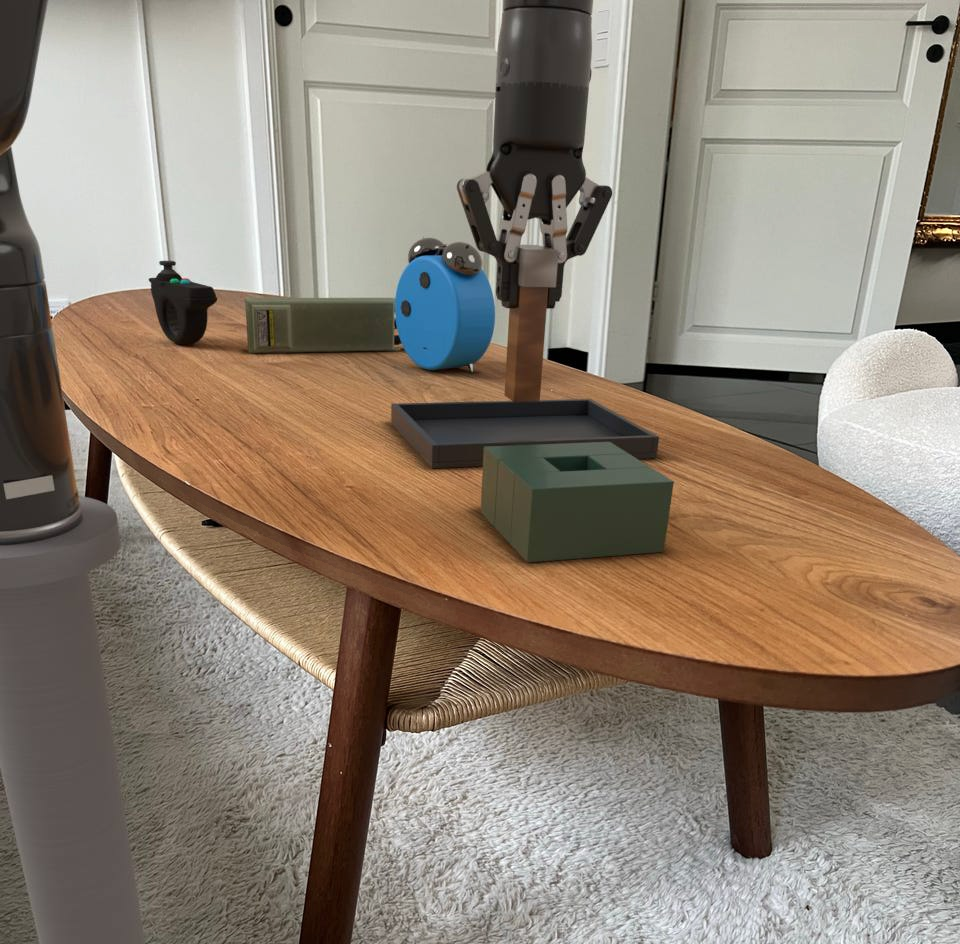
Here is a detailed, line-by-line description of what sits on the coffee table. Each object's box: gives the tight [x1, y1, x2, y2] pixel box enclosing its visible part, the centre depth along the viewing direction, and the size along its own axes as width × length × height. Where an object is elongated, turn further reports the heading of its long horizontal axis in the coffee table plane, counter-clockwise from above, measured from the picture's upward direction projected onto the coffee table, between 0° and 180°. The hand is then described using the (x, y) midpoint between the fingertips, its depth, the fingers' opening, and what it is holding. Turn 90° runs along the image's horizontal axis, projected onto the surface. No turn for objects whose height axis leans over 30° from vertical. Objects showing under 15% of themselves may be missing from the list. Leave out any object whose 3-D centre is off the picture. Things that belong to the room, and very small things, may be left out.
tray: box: [390, 398, 660, 469], centre depth 88 cm, size 21×15×2 cm
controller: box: [148, 260, 218, 345], centre depth 121 cm, size 4×12×10 cm, turn 43°
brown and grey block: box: [503, 244, 559, 402], centre depth 83 cm, size 3×5×13 cm, turn 18°
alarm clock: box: [394, 236, 496, 373], centre depth 114 cm, size 13×6×15 cm, turn 40°
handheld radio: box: [244, 297, 402, 354], centre depth 124 cm, size 7×3×25 cm
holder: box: [480, 442, 675, 563], centre depth 65 cm, size 10×10×5 cm
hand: (527, 306), depth 83 cm, fingers closed on brown and grey block, 3 cm apart
